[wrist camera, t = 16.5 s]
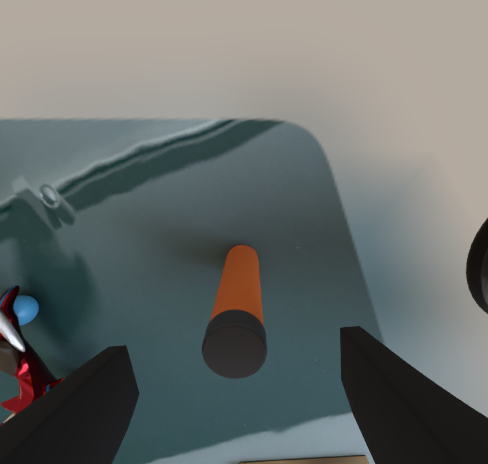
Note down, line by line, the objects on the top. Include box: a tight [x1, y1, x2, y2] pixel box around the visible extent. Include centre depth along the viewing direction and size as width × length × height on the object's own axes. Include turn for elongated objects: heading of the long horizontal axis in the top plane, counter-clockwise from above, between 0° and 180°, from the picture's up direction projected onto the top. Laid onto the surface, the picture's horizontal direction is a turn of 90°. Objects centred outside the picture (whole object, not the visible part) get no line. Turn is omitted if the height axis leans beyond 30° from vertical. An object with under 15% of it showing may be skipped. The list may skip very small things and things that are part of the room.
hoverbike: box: [0, 286, 64, 425], centre depth 17 cm, size 5×12×6 cm, turn 25°
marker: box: [202, 245, 267, 379], centre depth 13 cm, size 2×2×9 cm
